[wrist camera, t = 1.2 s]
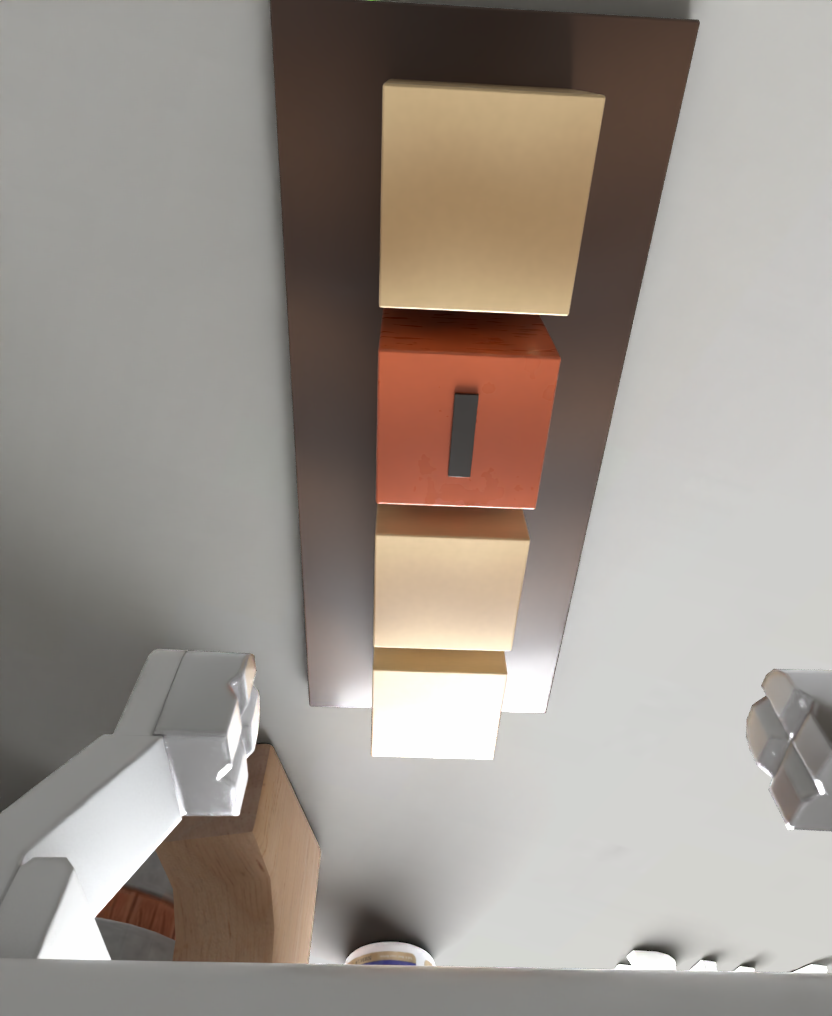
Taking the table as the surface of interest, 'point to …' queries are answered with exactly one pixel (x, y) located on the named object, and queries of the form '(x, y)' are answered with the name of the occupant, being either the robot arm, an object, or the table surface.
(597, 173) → the dark brown board
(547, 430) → the red minus sign cube
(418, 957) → the pill bottle
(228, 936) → the wooden block
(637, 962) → the text logo
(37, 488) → the table surface
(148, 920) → the mug
